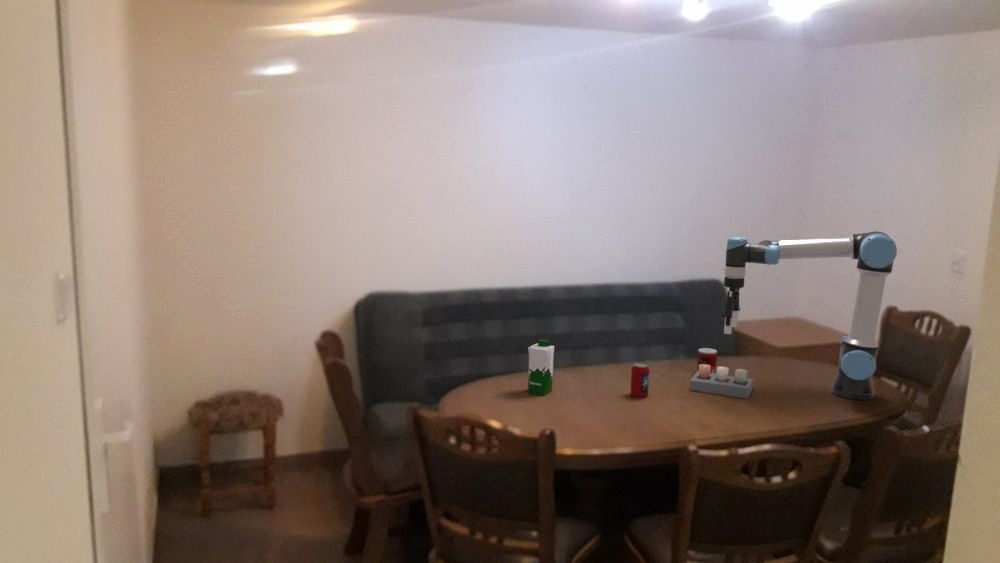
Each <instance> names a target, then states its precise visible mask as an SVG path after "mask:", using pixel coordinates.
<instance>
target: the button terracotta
mask: <svg viewBox="0 0 1000 563" xmlns="http://www.w3.org/2000/svg"><path fill="white" fill-rule="evenodd" d="M710 367H711V366H710V365H707V364H700V365H699V375H698V378H700V379H710Z"/></svg>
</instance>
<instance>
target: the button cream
mask: <svg viewBox="0 0 1000 563" xmlns="http://www.w3.org/2000/svg"><path fill="white" fill-rule="evenodd" d="M729 369H730V368H729V367H728V366H727V367H726V366H721V365H720V366H716V374H717V376H716V380H717V381H722V382H727V381H728V376H729V373H730V372H729Z"/></svg>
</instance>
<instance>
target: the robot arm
mask: <svg viewBox="0 0 1000 563" xmlns="http://www.w3.org/2000/svg"><path fill="white" fill-rule="evenodd" d="M896 244H897V243H896V242H895V241H894V240H893V238H891V237H890V236H889V235H888V234H887V233H885V232H881V231H871V232H870V231H869V232H863V233H851V234H850V235H849V236H846V237H842V236H841V237H825V238H823V237H822V238H820V237H819V238H802V239H781V240H768V239H765V240H761V241H759V242H758V243H750V242H748V238H746V237H743V236H742V237H740V236H730V237H729V238H727V242H726V249H725V250H726V251H725V267H723V270H724V276H725V277H724V278H723V286H724V287H725V288H729V290H728V291H726V294H727V295H726V301H725V309H724V314H722V317H723V318H724V324H723V325H724V327H723V334H725V335H726V334H727V335H732V329H733V328H738V320H739V312H740V311H741V307H740V289H743V288H744V287H745V281H746V280H745V277H746V268H747V267H746V264H759V265H760V264H762V265H773V266H774V265H777V264H779V263H780V260H793V259H794V260H795V259H796V260H798V259H799V260H800V259H825V258H830V259H831V258H851V260H857V264H856V269H857V271H858V272H859V279H858V286H857V289H856V290H857V291H856V297H855V303H854V309H853V314H852V319H851V325H850V332H849V335H843V336H842V337H841V340H840V343H839V344H840V347H839V348H840V349H839V356H838V357H839V358H838V369H837V374H836V376H835V379H833V380H834V381H833V382H832V385H831V391H830V392H831V394H833V395H834V396H837V397H840V398H845V399H848V400H857V401H864V400H865V401H868V400H871V399H873V398H874V397H875V396H874V394H875V390H874V387H873V386H874V385H873V383H872V378H871V377H872V376H873V375H874V373H875V372H876V369H877V355H878V350H879V343H877V342H876V335H877V328H878V324H879V320H880V319H879V317H880V312H881V306H882V300H883V296H884V290H885V285H886V278H887V276H889V275H890V274H892V271H893V267H894V261H895V259H896V257H897V254H898V247H897V245H896Z"/></svg>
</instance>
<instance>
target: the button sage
mask: <svg viewBox="0 0 1000 563" xmlns="http://www.w3.org/2000/svg"><path fill="white" fill-rule="evenodd" d="M734 371H735V372H734V377H735V383H736V384H746V381H747V377H748V370H746V369H743V368H736V369H735V370H734Z"/></svg>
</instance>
